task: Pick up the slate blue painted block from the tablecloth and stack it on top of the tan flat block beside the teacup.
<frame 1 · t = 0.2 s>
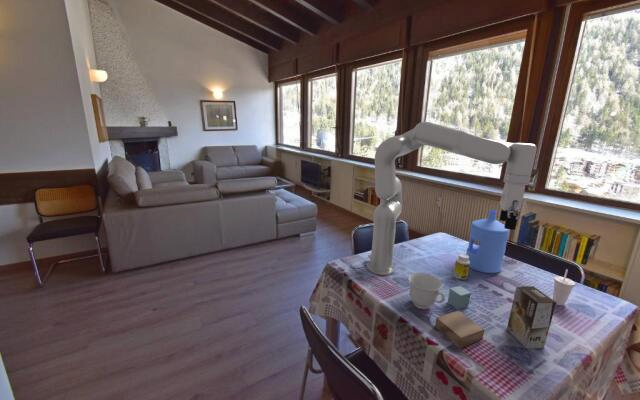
hand: (506, 224, 107), 31 cm above the table, tool pointing down, fingers open, 9 cm apart
water jug: (482, 266, 141), on the table
teacup: (424, 307, 108), on the table
coffee box: (524, 338, 94), on the table
tan flat block: (457, 333, 95), on the table
slate block: (457, 304, 110), on the table
smoothie: (558, 303, 114), on the table
supplement bottle: (460, 277, 130), on the table
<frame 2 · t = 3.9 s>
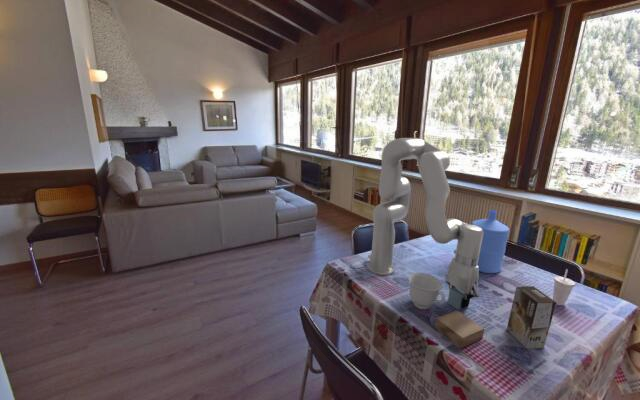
hand: (458, 302, 110), 1 cm above the table, tool pointing down, fingers closed on slate block, 5 cm apart
slate block: (457, 304, 110), on the table, touching gripper
everything else where it was.
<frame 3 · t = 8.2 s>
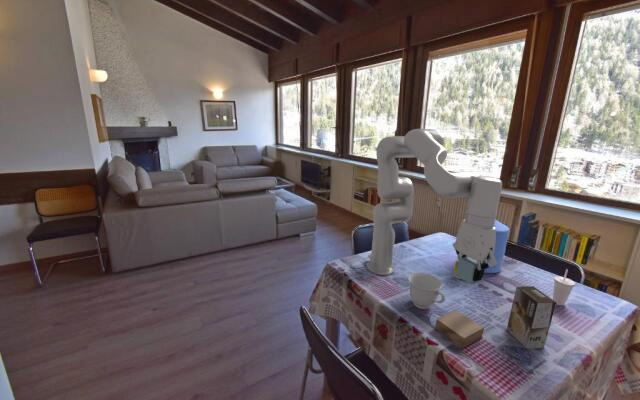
hand: (469, 275, 89), 21 cm above the table, tool pointing down, fingers closed on slate block, 5 cm apart
slate block: (468, 277, 90), point 20 cm above the table, touching gripper
everything else where it was.
when the fingers open (6 cm above the table, at t = 12.9 s): slate block drops 1 cm, resting on tan flat block.
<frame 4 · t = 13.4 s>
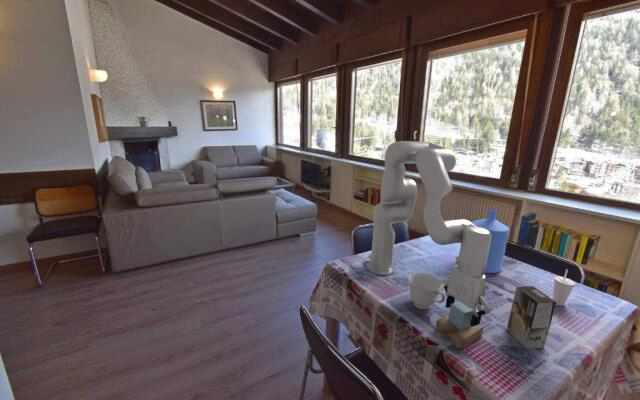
hand: (461, 315, 93), 6 cm above the table, tool pointing down, fingers open, 9 cm apart
tan flat block: (457, 333, 95), on the table, touching slate block
slate block: (459, 323, 94), point 4 cm above the table, touching tan flat block
everything else where it was.
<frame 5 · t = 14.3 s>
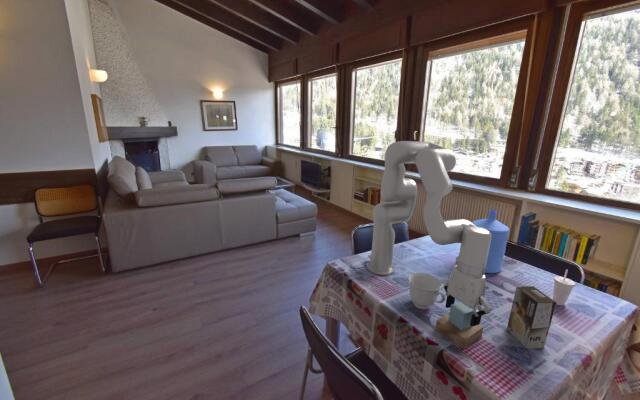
hand: (461, 315, 93), 7 cm above the table, tool pointing down, fingers open, 9 cm apart
tan flat block: (457, 334, 95), on the table
slate block: (460, 323, 94), point 4 cm above the table
everything else where it was.
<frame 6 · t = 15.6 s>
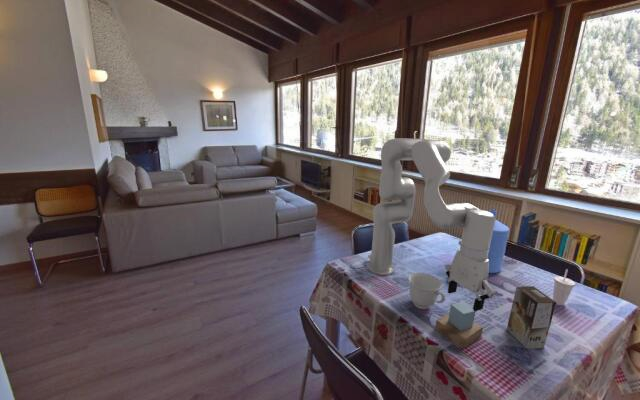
hand: (463, 300, 92), 12 cm above the table, tool pointing down, fingers open, 9 cm apart
tan flat block: (457, 333, 95), on the table, touching slate block
slate block: (460, 323, 94), point 4 cm above the table, touching tan flat block
everything else where it was.
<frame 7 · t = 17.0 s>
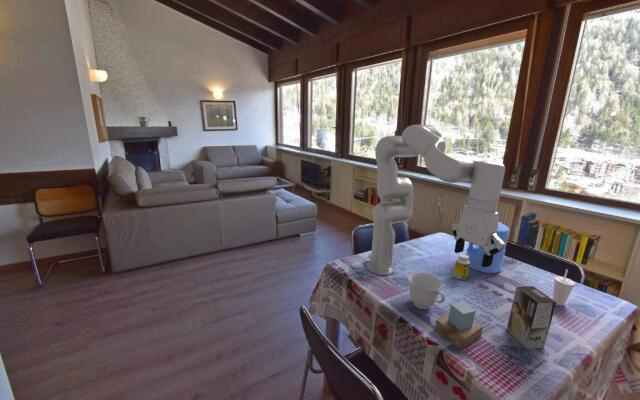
hand: (471, 258, 88), 26 cm above the table, tool pointing down, fingers open, 9 cm apart
tan flat block: (457, 333, 95), on the table
slate block: (459, 323, 94), point 4 cm above the table
everything else where it was.
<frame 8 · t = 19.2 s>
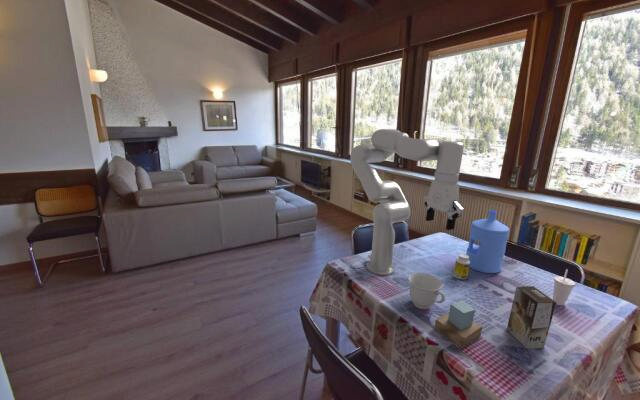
hand: (439, 224, 105), 30 cm above the table, tool pointing down, fingers open, 9 cm apart
tan flat block: (456, 333, 95), on the table, touching slate block
slate block: (459, 322, 94), point 4 cm above the table, touching tan flat block
everything else where it was.
at the end: slate block 0.1 cm off-centre on the tan flat block, point 4.0 cm above the tan flat block's base; slate block tilted 0°; the gripper is holding nothing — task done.
